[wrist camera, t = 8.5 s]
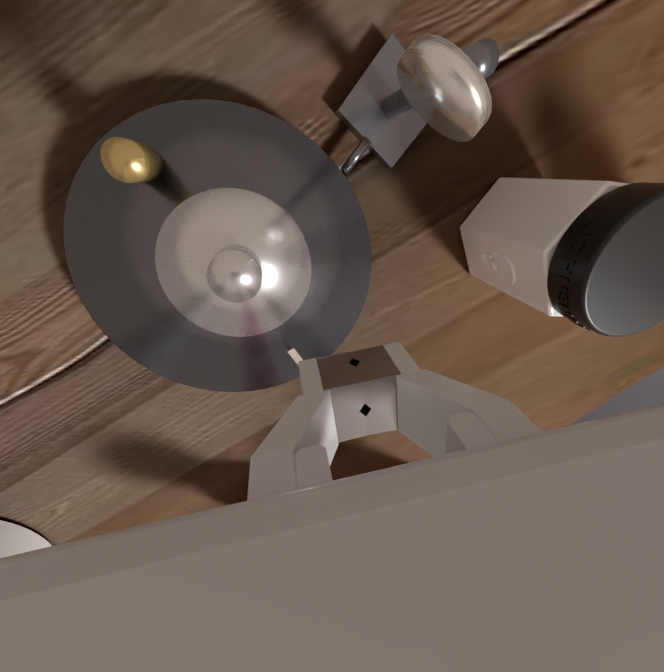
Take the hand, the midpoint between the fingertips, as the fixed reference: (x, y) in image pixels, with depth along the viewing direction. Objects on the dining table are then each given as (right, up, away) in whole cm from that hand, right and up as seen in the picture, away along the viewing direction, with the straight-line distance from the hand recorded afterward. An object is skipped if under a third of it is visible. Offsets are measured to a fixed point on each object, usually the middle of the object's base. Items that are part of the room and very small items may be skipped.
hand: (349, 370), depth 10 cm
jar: (+14, +10, +18) cm, 25 cm away
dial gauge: (+2, +16, +12) cm, 20 cm away
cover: (-7, +6, +12) cm, 15 cm away
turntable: (-8, +6, +15) cm, 18 cm away
